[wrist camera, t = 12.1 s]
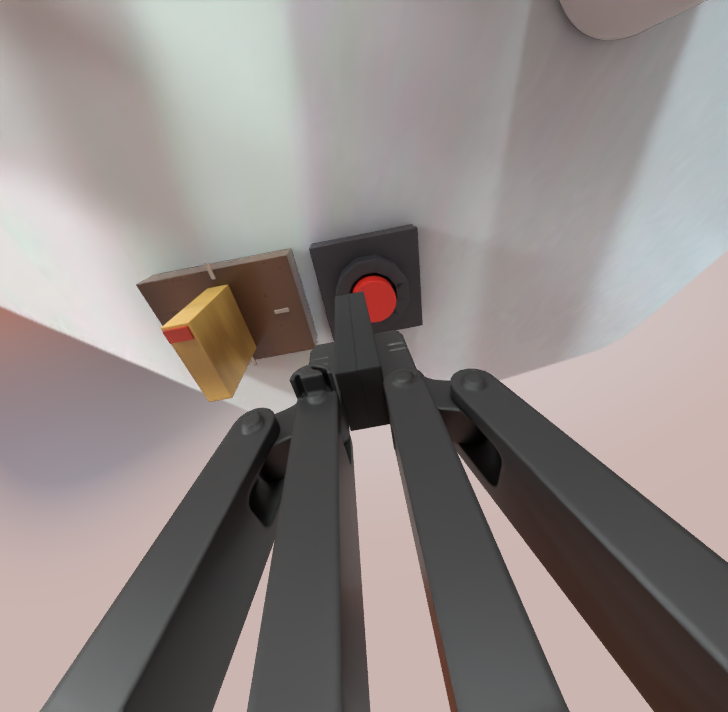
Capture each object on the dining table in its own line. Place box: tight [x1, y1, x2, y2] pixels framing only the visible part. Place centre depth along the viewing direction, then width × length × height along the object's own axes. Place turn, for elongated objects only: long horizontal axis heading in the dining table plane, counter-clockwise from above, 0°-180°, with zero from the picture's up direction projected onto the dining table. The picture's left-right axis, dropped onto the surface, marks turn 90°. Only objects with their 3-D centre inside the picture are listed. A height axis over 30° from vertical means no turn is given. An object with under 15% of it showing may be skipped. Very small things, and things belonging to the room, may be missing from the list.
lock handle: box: [161, 285, 257, 402], centre depth 24 cm, size 7×2×8 cm, turn 9°
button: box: [352, 275, 396, 322], centre depth 26 cm, size 4×4×2 cm
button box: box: [309, 224, 423, 341], centre depth 28 cm, size 10×10×4 cm
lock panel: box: [136, 248, 317, 365], centre depth 28 cm, size 14×11×3 cm
